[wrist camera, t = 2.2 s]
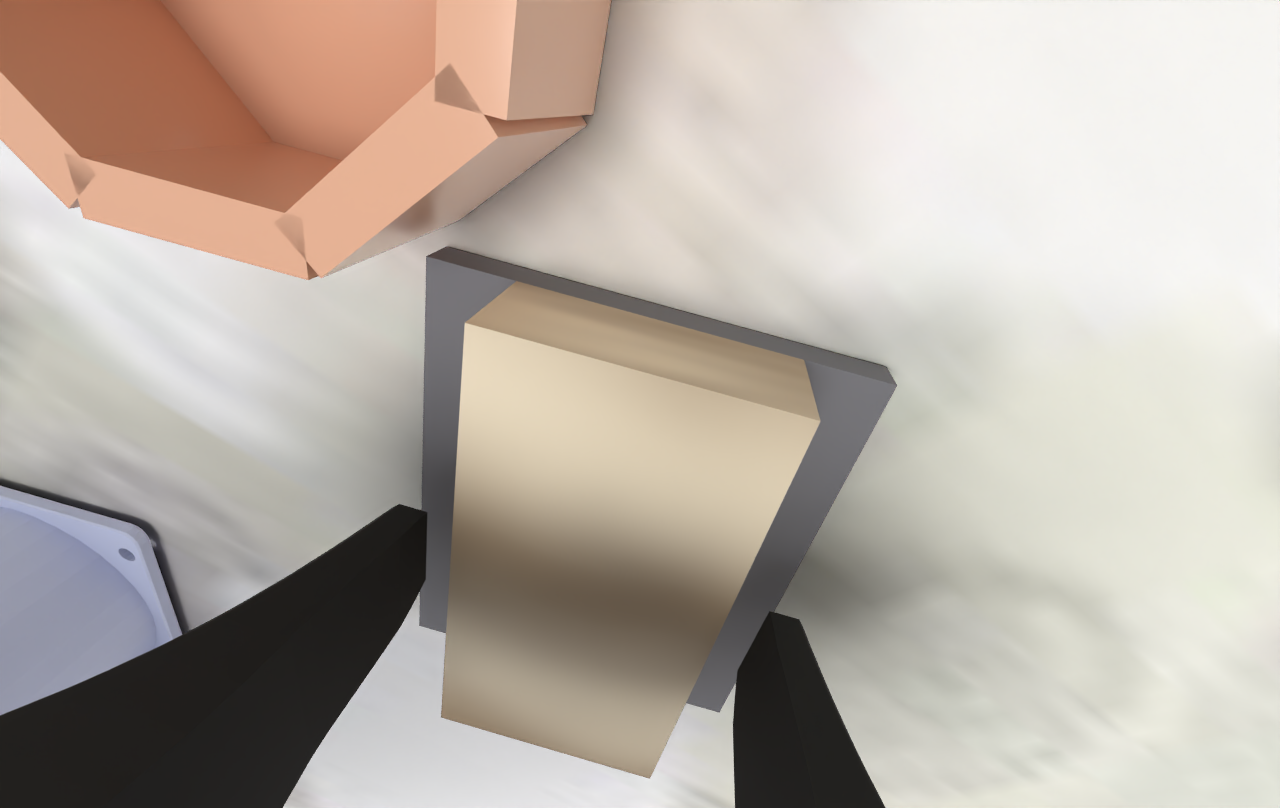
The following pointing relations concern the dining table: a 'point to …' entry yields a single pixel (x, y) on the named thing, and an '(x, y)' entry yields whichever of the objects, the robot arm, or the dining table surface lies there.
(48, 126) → the bowl
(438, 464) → the mat
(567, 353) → the lid
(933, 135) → the dining table surface
